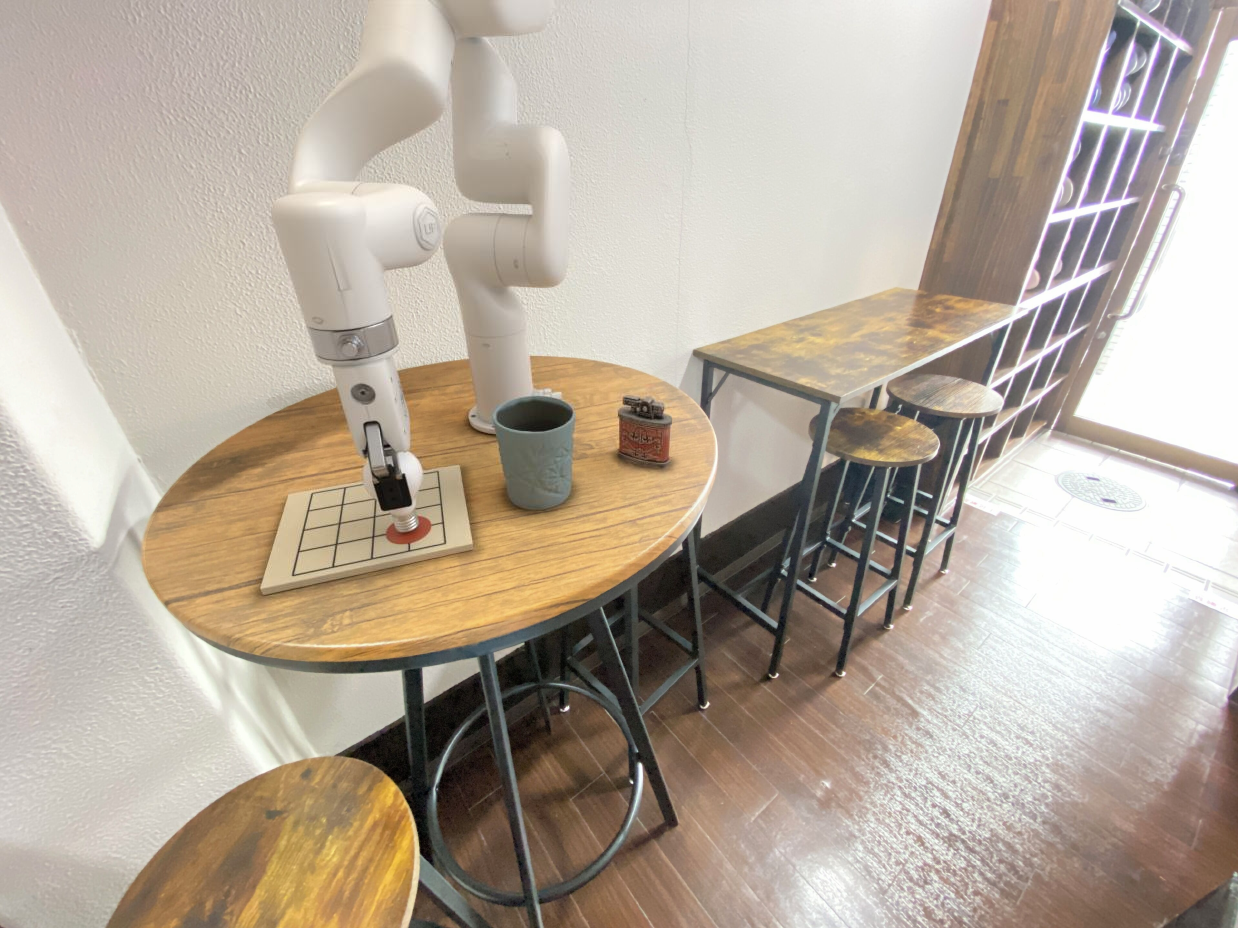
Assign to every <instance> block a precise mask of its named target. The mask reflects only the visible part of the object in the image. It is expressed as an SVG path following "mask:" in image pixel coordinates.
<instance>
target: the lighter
mask: <svg viewBox="0 0 1238 928" xmlns="http://www.w3.org/2000/svg"><path fill="white" fill-rule="evenodd" d="M622 405H623V407H620V408H619V409H617V417H618V449H617V457H618V458H619V459H621V460H623V461H625V462H628V463H630V464H634V465H638V466H642V467H646V468H653V469H666V468H668V467H669V466H670V462H671V459H670V443H671V442H670V441H671V426H672V424H673V417H672V416H671V415H669V414H666V413H664V412H665V402H660V401H656V400H655V399H654V397H652V396H649V395H648V396H646V397H645V398H642V397H640V396H638V395H637V396H636V395H631V394H624V395H623V396H622Z"/></svg>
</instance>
